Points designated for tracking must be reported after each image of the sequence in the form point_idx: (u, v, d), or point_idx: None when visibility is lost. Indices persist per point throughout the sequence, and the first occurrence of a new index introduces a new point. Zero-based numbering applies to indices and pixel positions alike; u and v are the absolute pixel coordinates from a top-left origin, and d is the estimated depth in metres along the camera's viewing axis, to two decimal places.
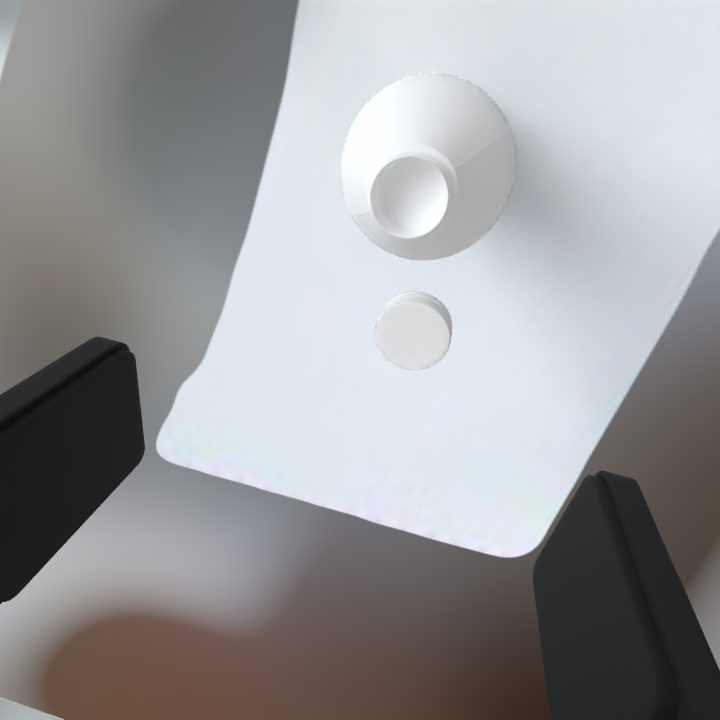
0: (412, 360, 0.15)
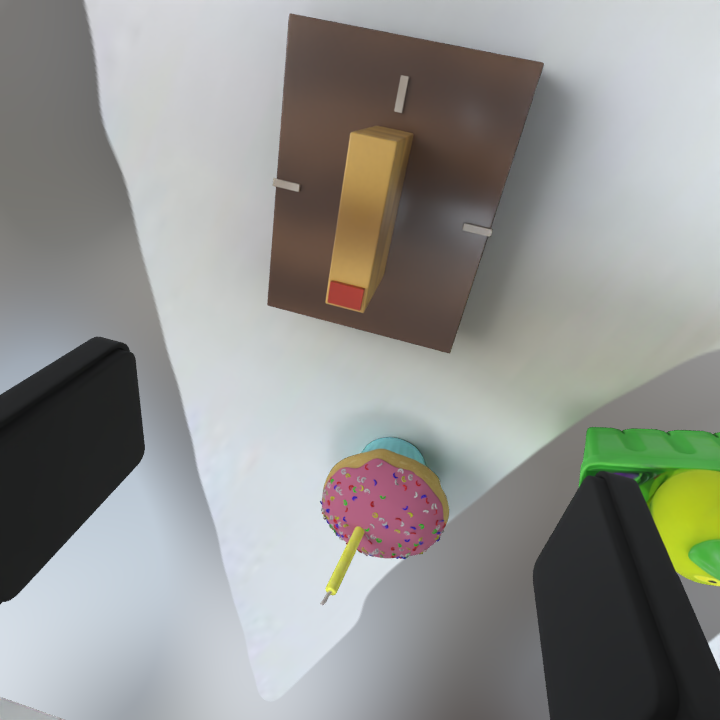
0: None
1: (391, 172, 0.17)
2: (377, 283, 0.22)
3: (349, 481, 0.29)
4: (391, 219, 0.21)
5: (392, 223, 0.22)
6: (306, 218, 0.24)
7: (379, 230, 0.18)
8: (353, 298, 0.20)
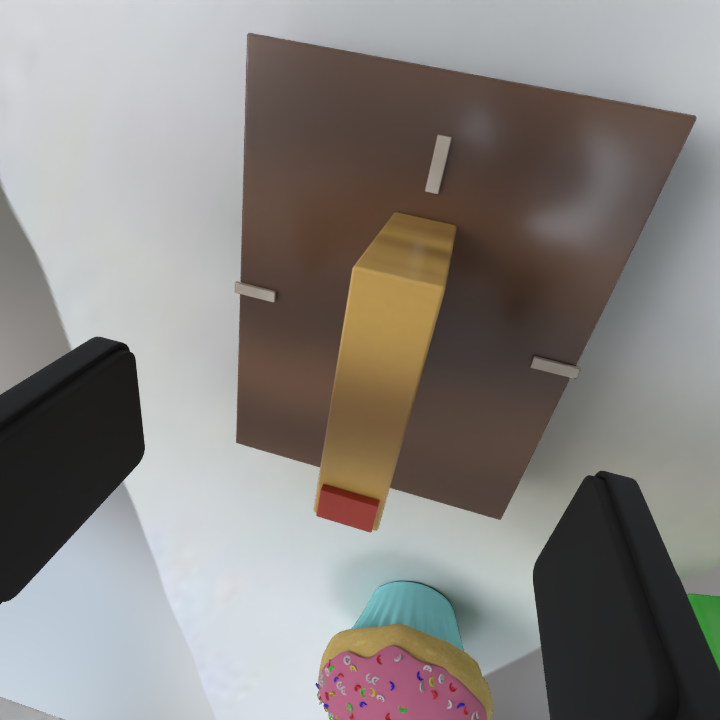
0: None
1: (431, 335, 0.09)
2: None
3: (355, 677, 0.20)
4: None
5: None
6: (287, 337, 0.16)
7: (406, 422, 0.10)
8: (360, 515, 0.12)
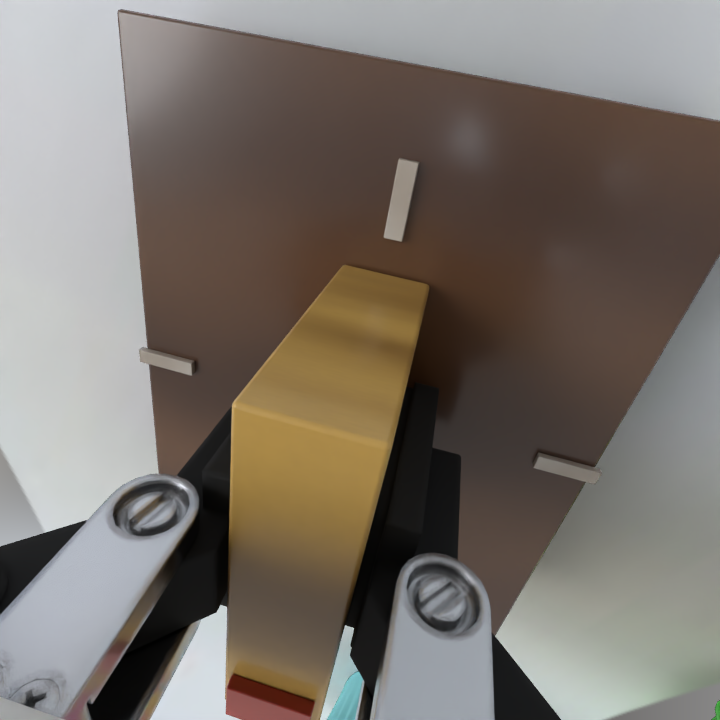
0: None
1: (374, 509, 0.05)
2: None
3: None
4: None
5: None
6: (214, 416, 0.12)
7: (344, 616, 0.06)
8: None
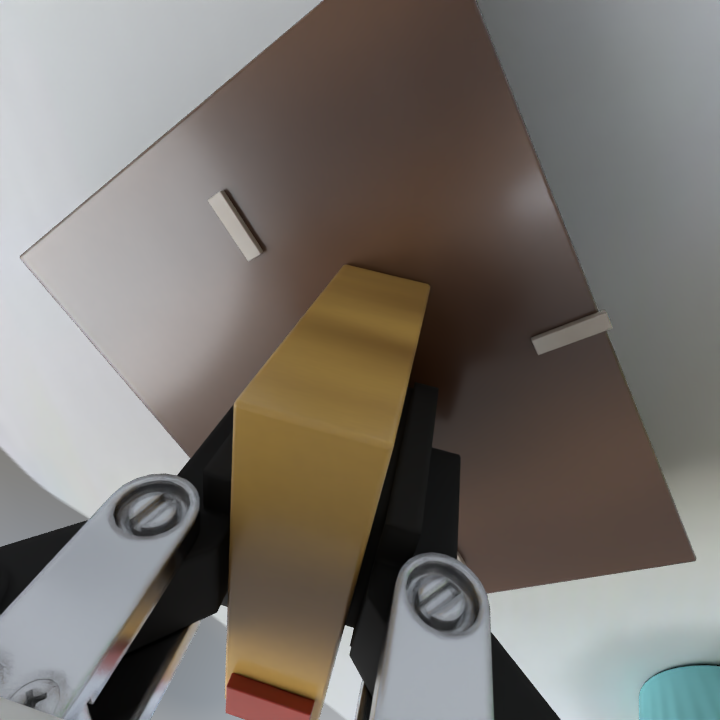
0: None
1: (375, 508, 0.05)
2: None
3: None
4: None
5: None
6: None
7: (345, 616, 0.06)
8: None
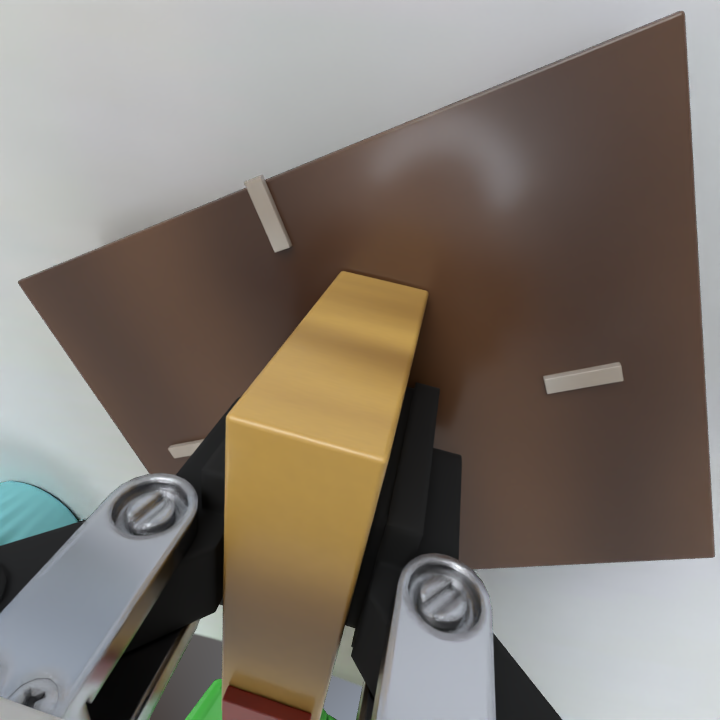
0: None
1: (370, 522, 0.05)
2: None
3: None
4: None
5: None
6: (238, 289, 0.10)
7: (341, 629, 0.06)
8: None
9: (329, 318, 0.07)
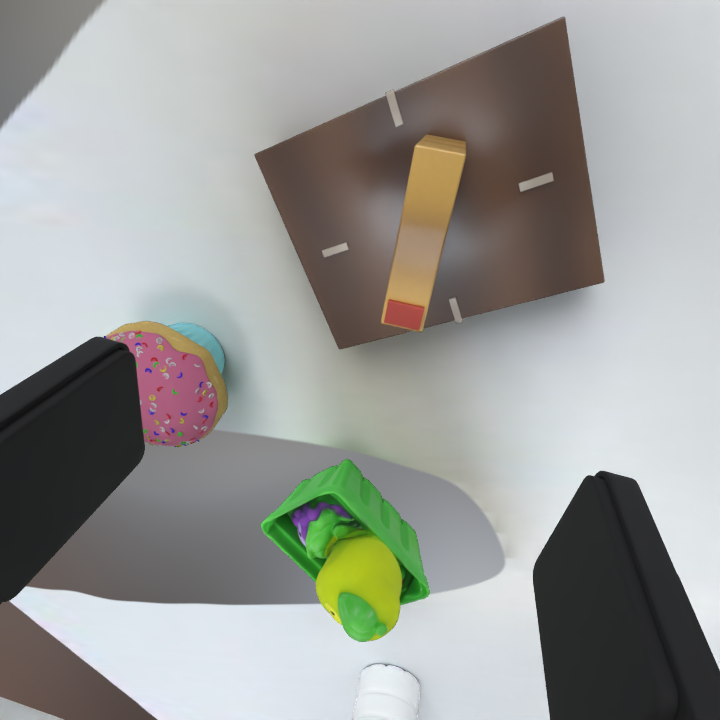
0: None
1: (458, 186, 0.16)
2: None
3: (157, 353, 0.26)
4: None
5: None
6: (373, 149, 0.21)
7: (442, 246, 0.17)
8: (412, 317, 0.19)
9: (431, 139, 0.18)
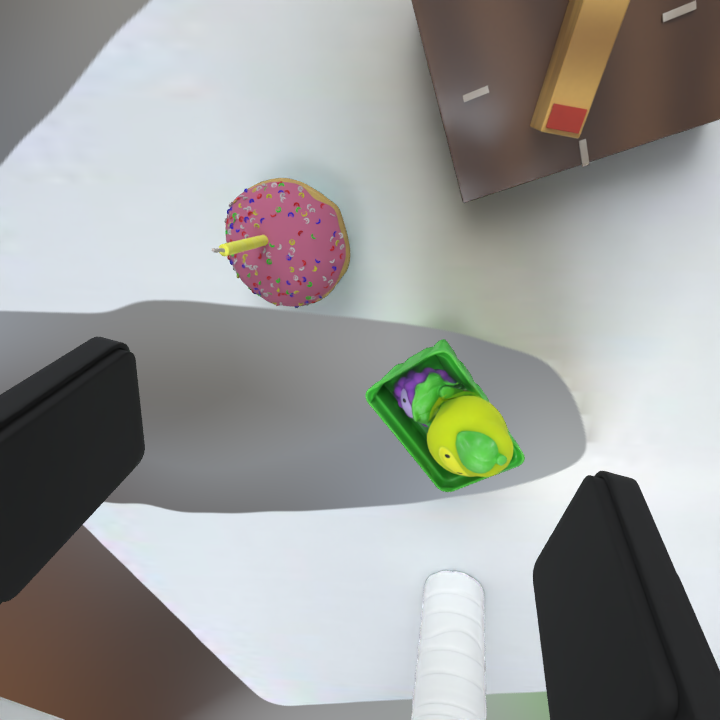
0: None
1: None
2: None
3: (299, 199, 0.28)
4: None
5: None
6: None
7: (613, 43, 0.19)
8: (574, 119, 0.21)
9: None
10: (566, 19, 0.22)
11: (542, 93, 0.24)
